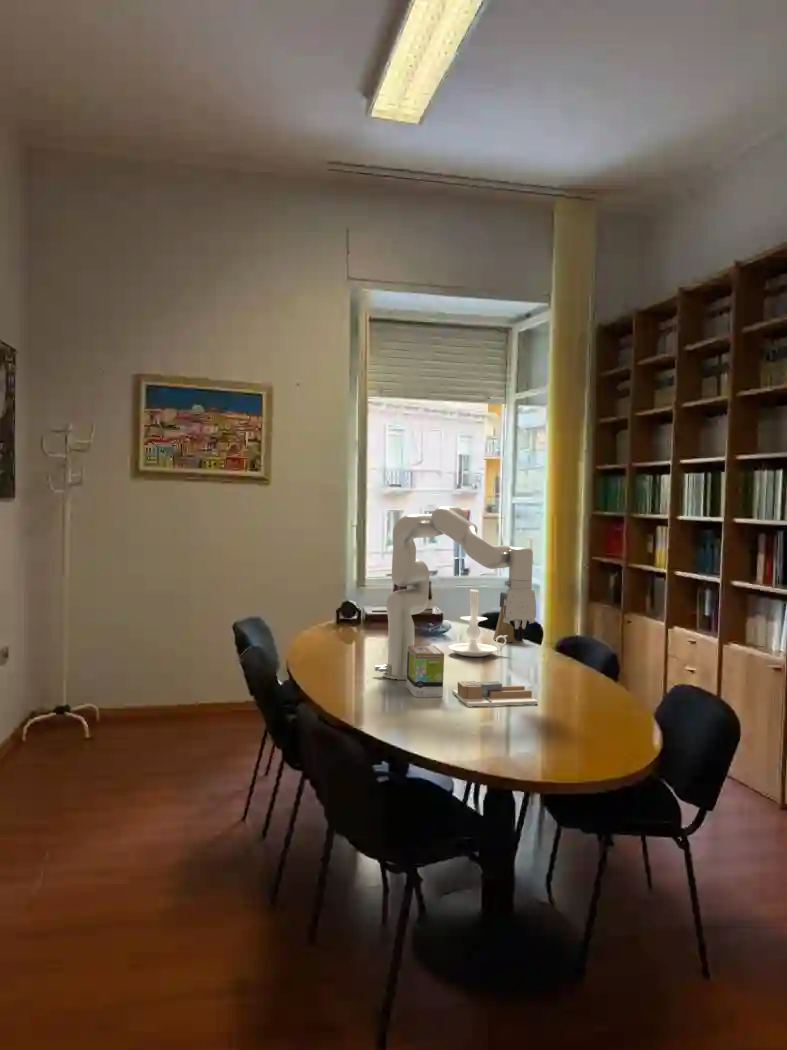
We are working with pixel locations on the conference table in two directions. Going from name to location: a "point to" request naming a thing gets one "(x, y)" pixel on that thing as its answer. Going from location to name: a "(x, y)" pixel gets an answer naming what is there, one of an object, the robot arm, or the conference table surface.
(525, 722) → the conference table surface
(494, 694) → the lock board
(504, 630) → the windmill
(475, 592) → the candlestick
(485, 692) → the bolt
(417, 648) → the tea box
